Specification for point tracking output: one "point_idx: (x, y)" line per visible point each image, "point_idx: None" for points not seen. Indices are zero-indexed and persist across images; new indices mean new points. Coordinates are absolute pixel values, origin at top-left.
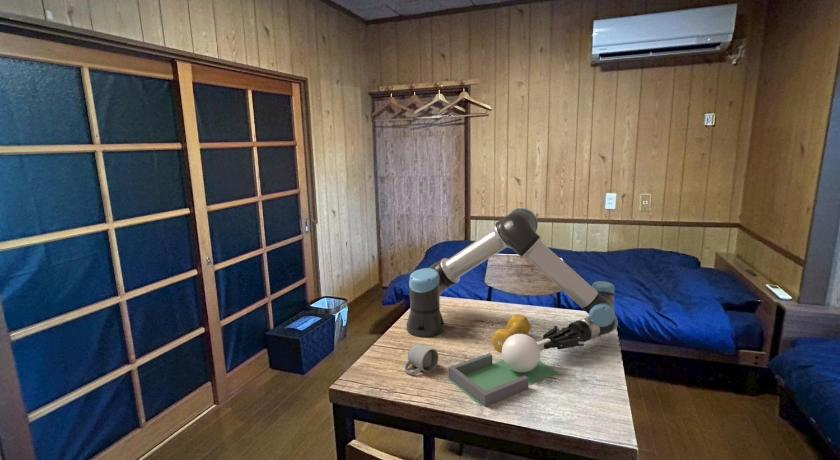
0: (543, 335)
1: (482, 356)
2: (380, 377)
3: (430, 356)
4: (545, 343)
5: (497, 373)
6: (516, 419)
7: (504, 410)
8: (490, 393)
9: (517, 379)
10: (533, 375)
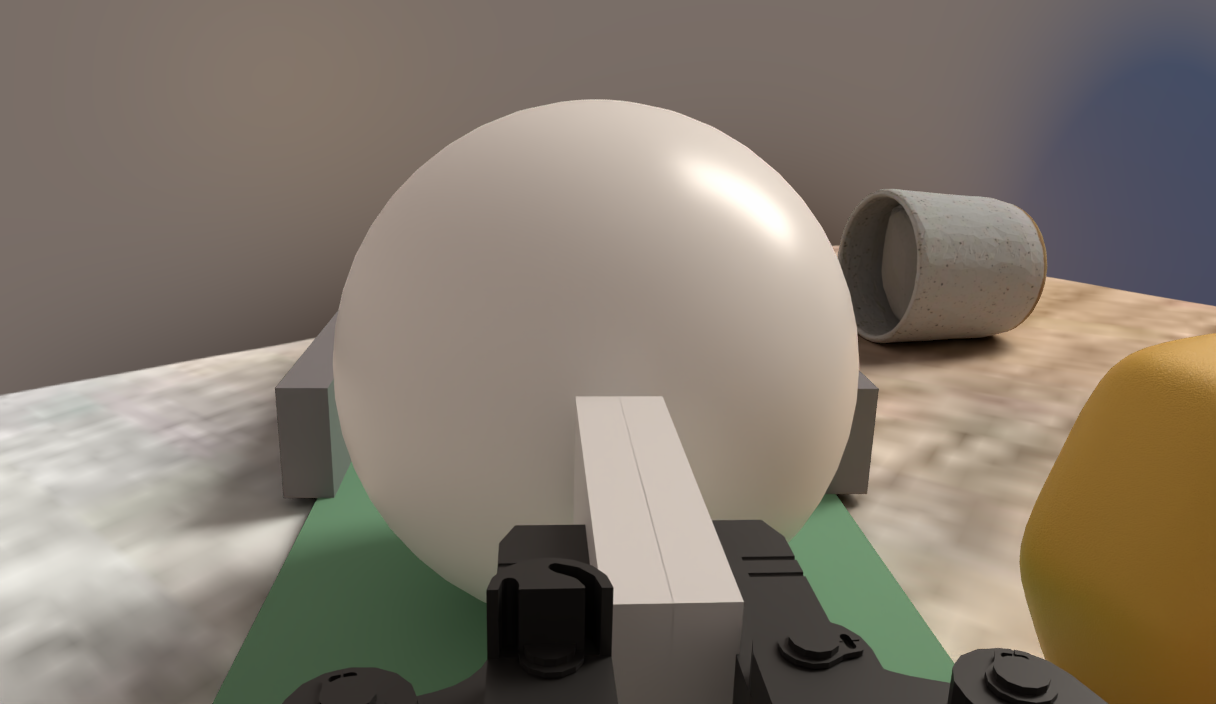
0: (1006, 659)
1: None
2: None
3: (914, 260)
4: (589, 542)
5: None
6: (153, 377)
7: (267, 377)
8: None
9: None
10: (398, 614)
